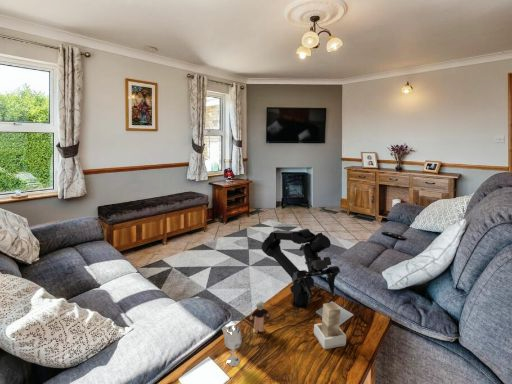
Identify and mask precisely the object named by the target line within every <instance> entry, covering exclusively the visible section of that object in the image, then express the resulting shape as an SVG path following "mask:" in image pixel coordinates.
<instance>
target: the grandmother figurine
mask: <svg viewBox="0 0 512 384" xmlns="http://www.w3.org/2000/svg"><path fill="white" fill-rule="evenodd" d="M255 307H256V308H255V310H254V311H253V312H252V313H251V315H250V317H249V320H250V321H252V320H253V319H254V322H253V330H252V332H253V334H258V333H259V332H260V333H263V332H265V329H264V323H265V315H266V317H270V313H269V311H268V310H266V308H264V307H265V303H264V301H262V300H257V301H256V303H255Z"/></svg>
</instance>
